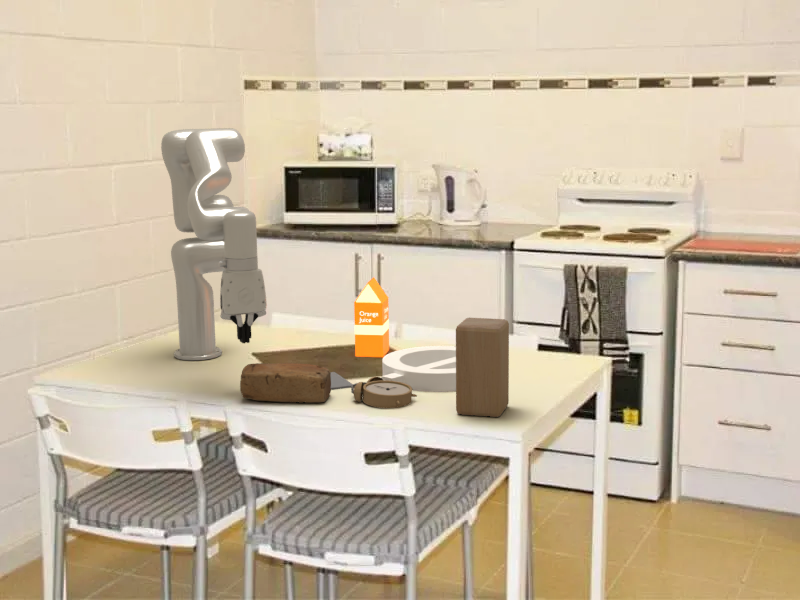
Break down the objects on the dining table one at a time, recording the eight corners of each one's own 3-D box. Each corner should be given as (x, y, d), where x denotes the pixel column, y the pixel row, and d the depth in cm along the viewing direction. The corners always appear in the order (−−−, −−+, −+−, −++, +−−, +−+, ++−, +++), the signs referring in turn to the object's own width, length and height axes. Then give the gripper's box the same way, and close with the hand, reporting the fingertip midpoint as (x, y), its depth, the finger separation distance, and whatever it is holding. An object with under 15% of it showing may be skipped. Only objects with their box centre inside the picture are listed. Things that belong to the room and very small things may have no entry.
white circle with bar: (381, 393, 271) (380, 374, 270) (383, 364, 298) (383, 346, 298) (500, 392, 271) (500, 372, 270) (492, 363, 298) (492, 345, 297)
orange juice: (389, 349, 313) (388, 276, 309) (383, 357, 304) (382, 282, 301) (361, 348, 314) (359, 276, 310) (354, 356, 306) (352, 282, 302)
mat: (248, 383, 280) (248, 381, 280) (334, 373, 289) (334, 371, 289) (265, 397, 268) (265, 396, 268) (354, 386, 276) (354, 385, 276)
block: (238, 401, 263) (325, 406, 261) (238, 369, 262) (325, 374, 260) (249, 388, 274) (333, 393, 272) (249, 357, 272) (333, 362, 270)
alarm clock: (395, 399, 255) (341, 379, 262) (392, 419, 256) (338, 399, 264) (422, 387, 264) (369, 368, 272) (419, 407, 265) (366, 387, 273)
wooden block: (465, 403, 261) (465, 316, 257) (509, 406, 258) (509, 318, 254) (455, 415, 252) (454, 325, 248) (500, 418, 249) (500, 328, 245)
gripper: (213, 269, 261) (217, 348, 264) (277, 264, 267) (279, 342, 270) (205, 264, 268) (209, 341, 271) (267, 259, 273) (270, 335, 277)
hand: (244, 341), depth 271 cm, fingers closed
